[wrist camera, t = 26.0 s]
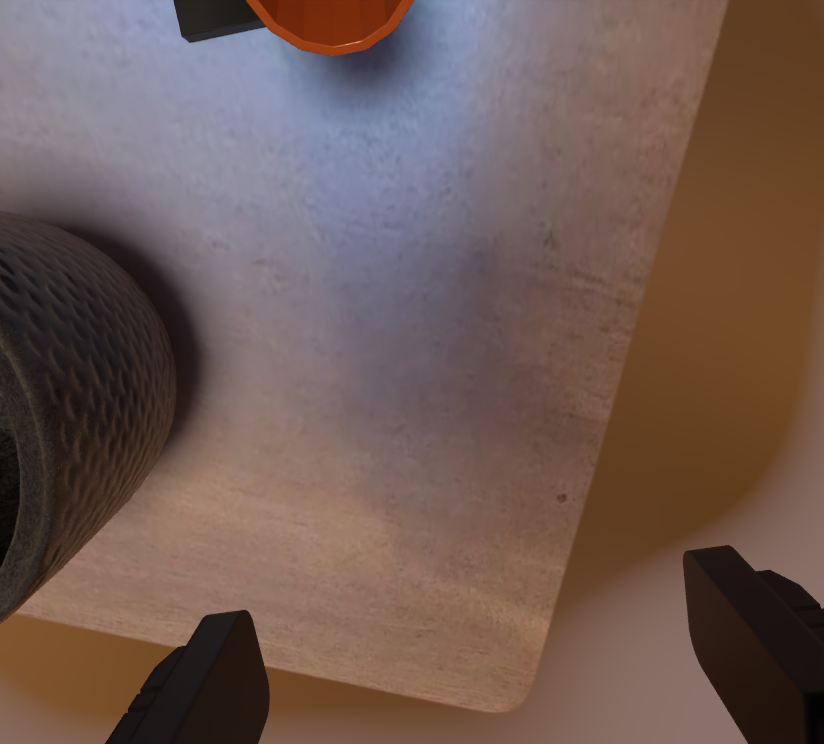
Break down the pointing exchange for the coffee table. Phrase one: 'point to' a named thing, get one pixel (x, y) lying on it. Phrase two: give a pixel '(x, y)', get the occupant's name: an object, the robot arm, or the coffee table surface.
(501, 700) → the coffee table surface
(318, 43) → the mug
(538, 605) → the coffee table surface
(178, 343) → the coffee table surface
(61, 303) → the planter
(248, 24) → the hook stand
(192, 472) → the coffee table surface
